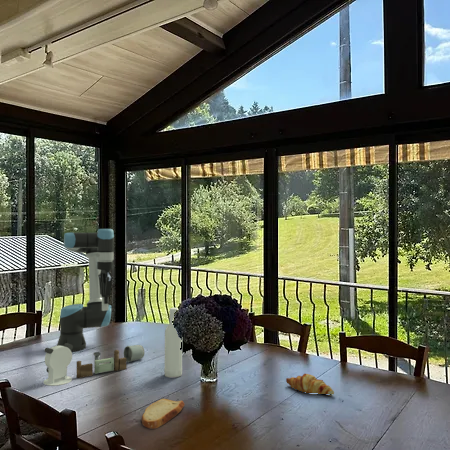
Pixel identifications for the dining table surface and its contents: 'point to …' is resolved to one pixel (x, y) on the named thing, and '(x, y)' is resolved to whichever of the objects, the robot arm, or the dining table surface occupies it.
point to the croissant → (309, 384)
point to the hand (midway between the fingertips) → (105, 310)
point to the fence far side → (84, 370)
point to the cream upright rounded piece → (58, 364)
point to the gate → (104, 365)
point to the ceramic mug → (133, 353)
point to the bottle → (172, 350)
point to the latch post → (96, 355)
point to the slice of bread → (161, 412)
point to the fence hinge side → (119, 362)
